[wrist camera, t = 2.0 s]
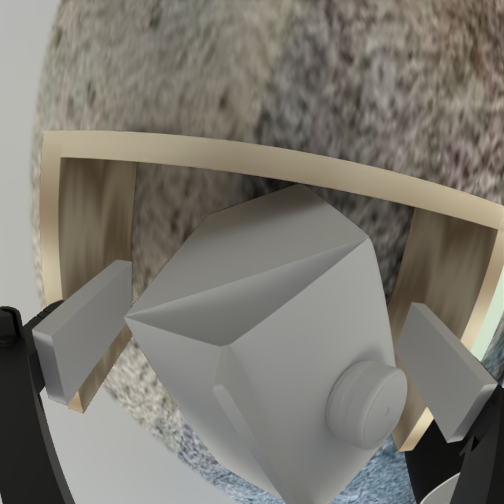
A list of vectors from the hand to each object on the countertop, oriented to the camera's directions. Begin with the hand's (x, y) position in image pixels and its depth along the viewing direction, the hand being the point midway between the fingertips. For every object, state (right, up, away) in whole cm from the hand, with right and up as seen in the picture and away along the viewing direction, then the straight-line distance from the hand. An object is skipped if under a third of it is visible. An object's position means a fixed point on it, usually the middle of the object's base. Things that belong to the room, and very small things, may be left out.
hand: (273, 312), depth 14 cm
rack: (0, +2, +10) cm, 10 cm away
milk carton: (0, +3, +10) cm, 10 cm away
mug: (+20, -16, +15) cm, 29 cm away
